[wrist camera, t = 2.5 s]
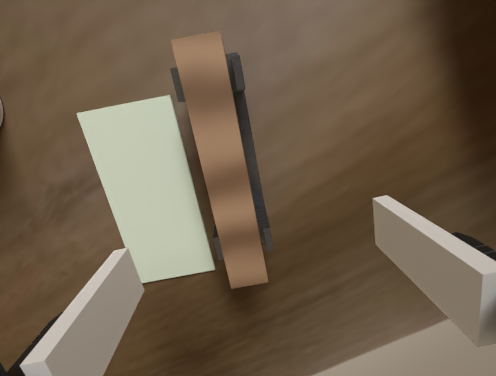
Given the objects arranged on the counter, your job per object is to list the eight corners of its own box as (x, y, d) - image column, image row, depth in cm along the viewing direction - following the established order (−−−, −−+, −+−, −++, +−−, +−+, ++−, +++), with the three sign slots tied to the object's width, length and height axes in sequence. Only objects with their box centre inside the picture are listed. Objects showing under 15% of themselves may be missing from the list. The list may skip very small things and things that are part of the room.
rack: (185, 63, 36) (162, 45, 25) (237, 53, 36) (237, 30, 25) (224, 230, 44) (220, 275, 32) (267, 222, 44) (278, 264, 32)
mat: (78, 113, 38) (76, 113, 37) (170, 95, 37) (169, 95, 37) (140, 281, 46) (138, 283, 46) (215, 267, 46) (214, 269, 45)
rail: (183, 52, 27) (170, 40, 22) (223, 44, 27) (220, 30, 22) (232, 260, 34) (231, 288, 29) (263, 254, 34) (268, 282, 29)
